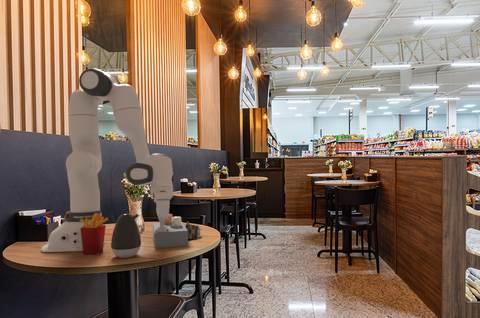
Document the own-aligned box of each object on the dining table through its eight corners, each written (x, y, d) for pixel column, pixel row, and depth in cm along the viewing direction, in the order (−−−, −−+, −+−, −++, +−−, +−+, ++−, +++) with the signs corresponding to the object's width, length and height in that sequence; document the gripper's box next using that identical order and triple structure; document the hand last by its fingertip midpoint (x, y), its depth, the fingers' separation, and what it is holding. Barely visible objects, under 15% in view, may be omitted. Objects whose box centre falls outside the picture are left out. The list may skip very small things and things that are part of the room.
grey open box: (154, 248, 130) (154, 232, 130) (153, 236, 152) (153, 223, 152) (187, 245, 134) (187, 230, 134) (181, 234, 156) (181, 221, 156)
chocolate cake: (202, 241, 143) (204, 219, 152) (186, 238, 141) (189, 215, 150) (195, 253, 149) (198, 230, 158) (180, 249, 147) (184, 227, 156)
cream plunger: (172, 230, 141) (172, 218, 141) (171, 228, 144) (171, 216, 144) (181, 229, 142) (181, 217, 142) (180, 227, 146) (180, 216, 146)
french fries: (79, 255, 121) (79, 213, 122) (92, 249, 130) (92, 210, 130) (101, 255, 120) (101, 214, 120) (113, 249, 128) (113, 211, 129)
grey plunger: (157, 241, 132) (156, 228, 132) (156, 239, 136) (156, 226, 136) (167, 240, 133) (167, 228, 133) (166, 238, 137) (166, 226, 137)
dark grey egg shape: (147, 254, 121) (147, 212, 121) (123, 261, 112) (122, 216, 112) (129, 250, 126) (129, 210, 127) (105, 257, 118) (104, 214, 118)
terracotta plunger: (163, 226, 148) (163, 215, 148) (163, 225, 152) (163, 214, 152) (172, 226, 149) (172, 215, 150) (172, 224, 153) (172, 213, 153)
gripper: (153, 191, 144) (153, 223, 144) (154, 195, 124) (154, 232, 124) (167, 191, 146) (168, 222, 145) (171, 194, 126) (172, 231, 126)
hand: (162, 227), depth 135 cm, fingers closed, pressing on grey plunger
